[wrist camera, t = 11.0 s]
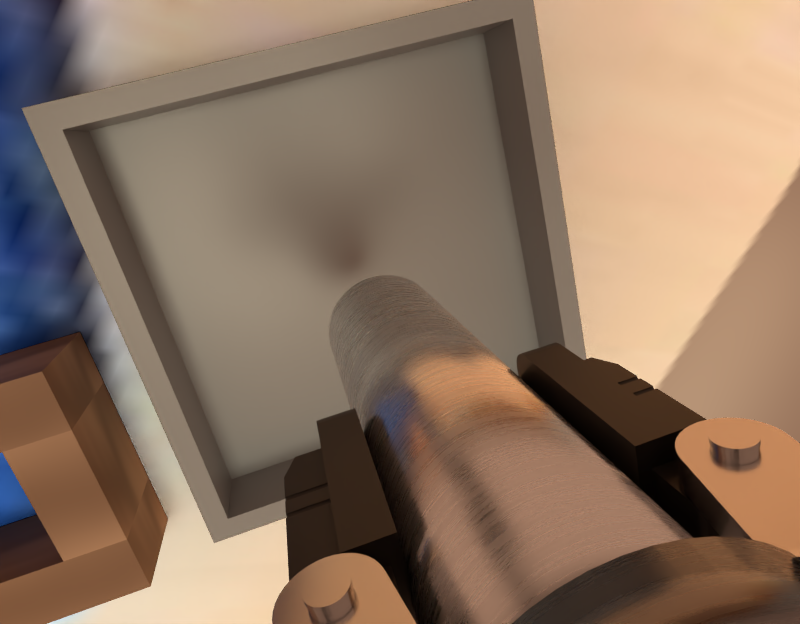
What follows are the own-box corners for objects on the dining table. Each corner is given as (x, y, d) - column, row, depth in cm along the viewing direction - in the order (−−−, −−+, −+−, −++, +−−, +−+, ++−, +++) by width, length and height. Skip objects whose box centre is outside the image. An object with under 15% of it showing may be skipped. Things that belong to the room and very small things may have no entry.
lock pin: (291, 282, 15) (390, 853, 3) (438, 238, 16) (1039, 568, 4) (334, 416, 17) (526, 1192, 4) (468, 372, 17) (977, 947, 5)
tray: (62, 113, 20) (21, 108, 16) (491, 9, 22) (531, -14, 19) (220, 490, 25) (214, 542, 22) (554, 376, 27) (593, 408, 24)
